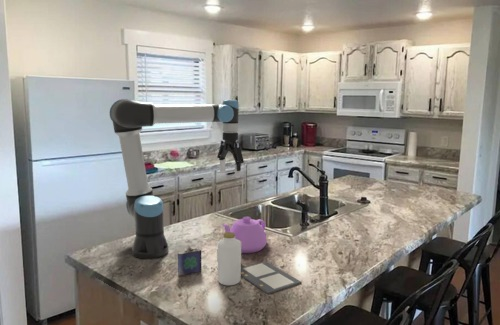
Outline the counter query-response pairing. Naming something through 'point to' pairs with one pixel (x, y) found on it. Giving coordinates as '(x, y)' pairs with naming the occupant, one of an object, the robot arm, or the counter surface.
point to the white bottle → (229, 260)
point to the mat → (268, 277)
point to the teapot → (249, 234)
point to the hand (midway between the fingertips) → (229, 175)
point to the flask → (189, 262)
